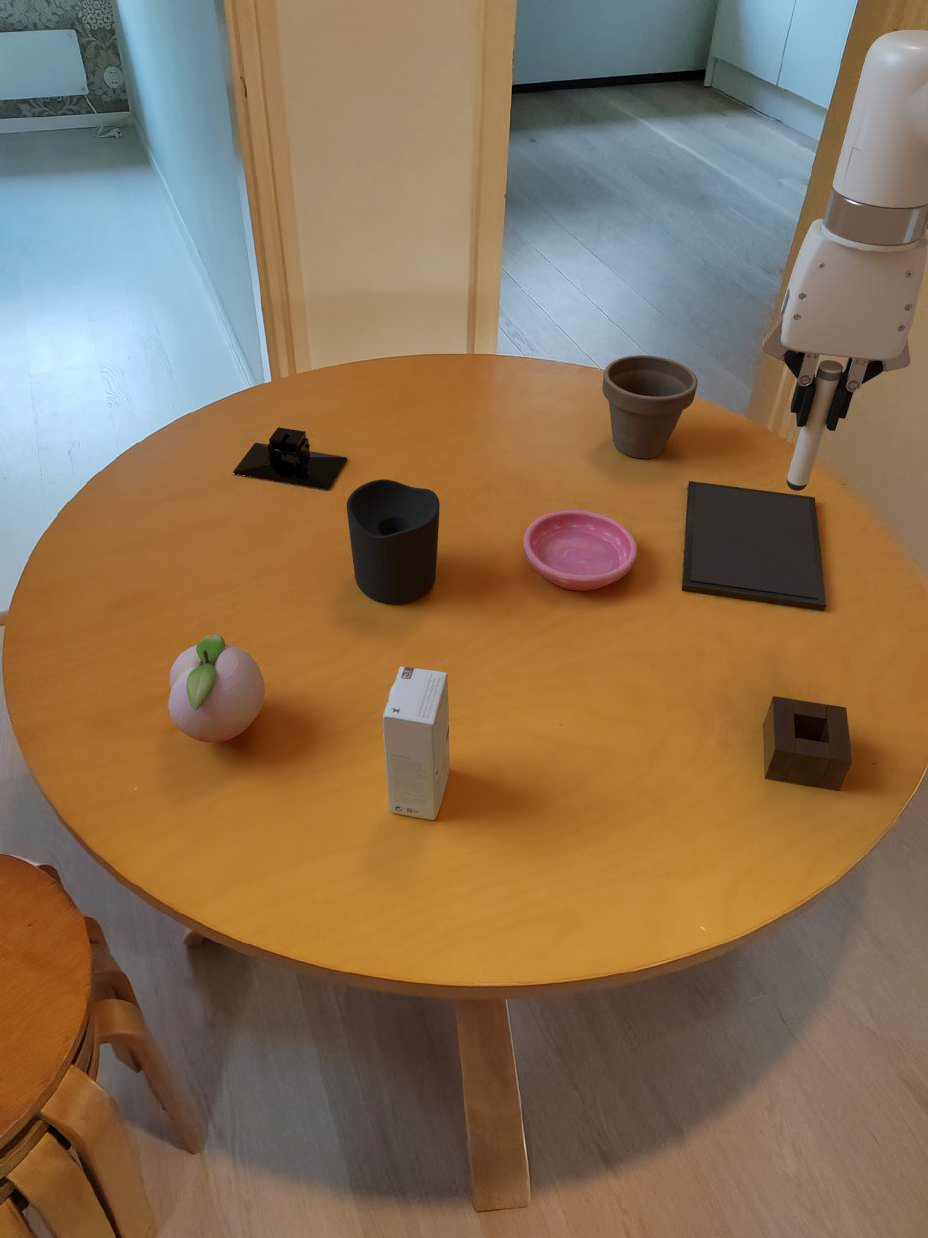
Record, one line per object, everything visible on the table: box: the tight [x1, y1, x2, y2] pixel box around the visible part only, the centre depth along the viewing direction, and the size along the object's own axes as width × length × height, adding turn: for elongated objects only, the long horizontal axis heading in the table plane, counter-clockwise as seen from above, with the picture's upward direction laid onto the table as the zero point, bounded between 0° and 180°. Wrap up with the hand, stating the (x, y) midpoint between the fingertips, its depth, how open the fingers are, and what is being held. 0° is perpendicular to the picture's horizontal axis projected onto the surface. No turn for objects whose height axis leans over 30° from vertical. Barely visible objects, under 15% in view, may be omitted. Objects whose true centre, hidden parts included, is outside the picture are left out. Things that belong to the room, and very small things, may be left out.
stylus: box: [786, 359, 844, 492], centre depth 90 cm, size 2×2×13 cm
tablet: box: [681, 480, 827, 612], centre depth 112 cm, size 15×20×1 cm
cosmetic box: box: [382, 666, 451, 821], centre depth 82 cm, size 6×4×12 cm
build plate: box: [232, 426, 348, 491], centre depth 121 cm, size 12×7×5 cm, turn 76°
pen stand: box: [762, 695, 853, 792], centre depth 88 cm, size 6×6×4 cm
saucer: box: [522, 509, 638, 591], centre depth 108 cm, size 12×12×3 cm
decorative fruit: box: [167, 633, 266, 744], centre depth 87 cm, size 9×8×10 cm
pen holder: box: [346, 478, 441, 605], centre depth 103 cm, size 9×9×10 cm
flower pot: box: [601, 354, 699, 459], centre depth 124 cm, size 12×11×10 cm
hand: (815, 419), depth 89 cm, fingers closed on stylus, 2 cm apart
